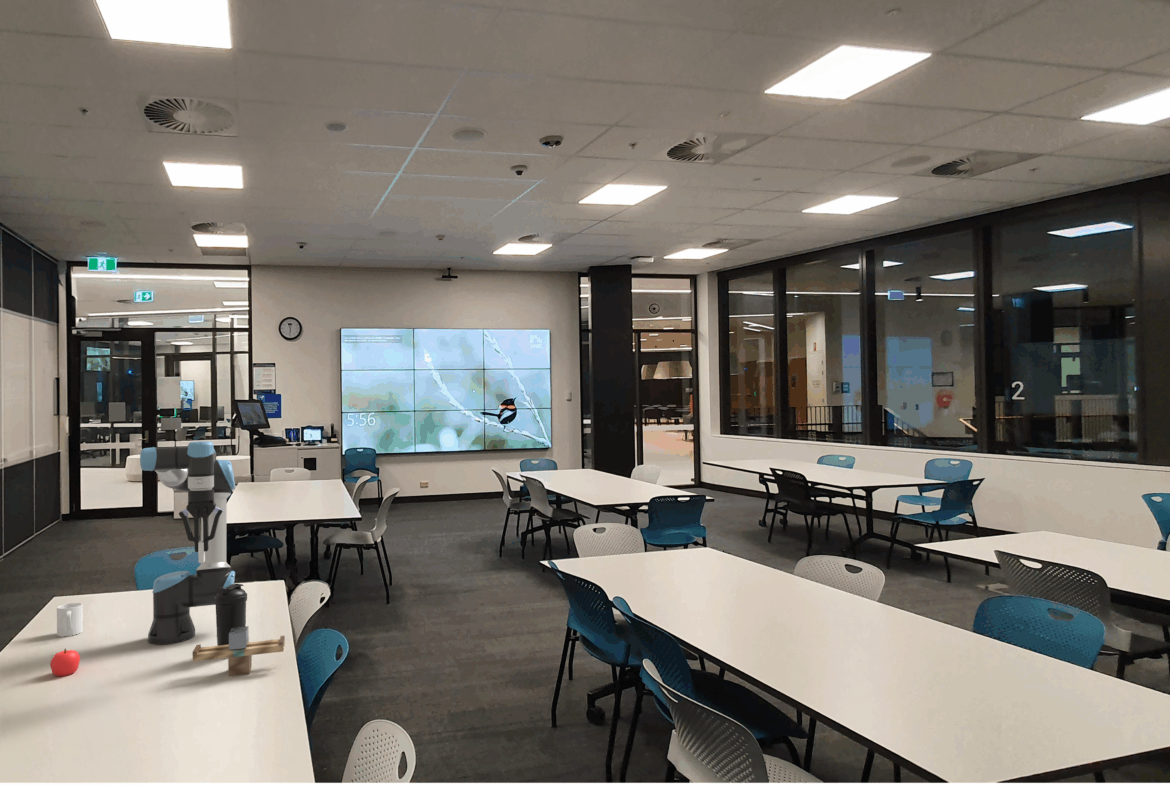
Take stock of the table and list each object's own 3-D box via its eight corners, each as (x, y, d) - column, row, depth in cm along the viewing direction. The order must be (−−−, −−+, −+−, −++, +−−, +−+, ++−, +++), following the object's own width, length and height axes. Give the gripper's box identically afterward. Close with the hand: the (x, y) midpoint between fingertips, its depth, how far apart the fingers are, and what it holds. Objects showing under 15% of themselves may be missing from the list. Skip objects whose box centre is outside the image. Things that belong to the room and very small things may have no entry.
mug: (57, 632, 279) (57, 605, 279) (83, 629, 283) (82, 601, 283) (55, 641, 269) (55, 612, 269) (81, 637, 273) (81, 609, 273)
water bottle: (254, 650, 257) (253, 584, 257) (229, 660, 247) (228, 591, 248) (233, 646, 261) (233, 581, 261) (208, 656, 252) (207, 588, 252)
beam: (192, 681, 229) (192, 652, 229) (196, 672, 236) (196, 644, 236) (283, 670, 237) (283, 642, 237) (284, 662, 244) (284, 635, 244)
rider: (229, 656, 233) (228, 633, 233) (231, 649, 239) (231, 628, 239) (246, 654, 234) (246, 632, 235) (248, 647, 241) (248, 626, 241)
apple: (77, 667, 243) (77, 642, 243) (83, 673, 237) (82, 648, 237) (47, 673, 237) (47, 648, 237) (52, 680, 231) (52, 654, 231)
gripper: (176, 491, 235) (176, 565, 235) (221, 489, 239) (222, 562, 239) (180, 488, 242) (181, 561, 242) (224, 486, 246) (225, 557, 246)
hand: (201, 561), depth 241 cm, fingers closed
